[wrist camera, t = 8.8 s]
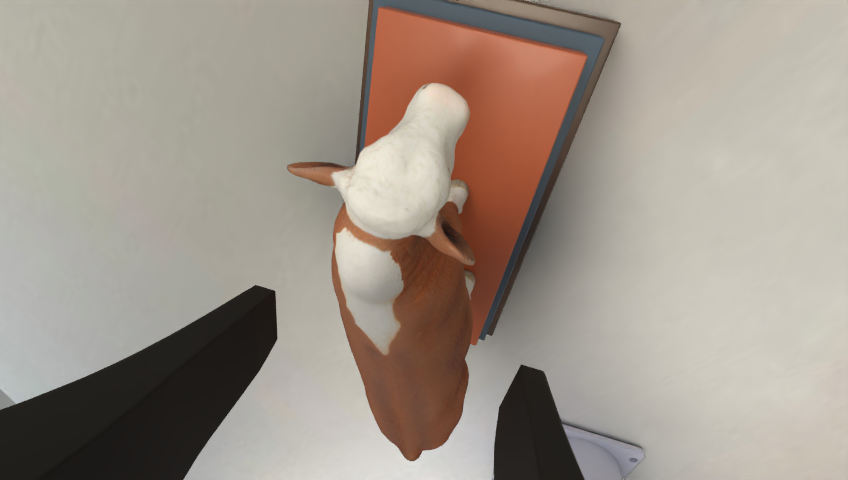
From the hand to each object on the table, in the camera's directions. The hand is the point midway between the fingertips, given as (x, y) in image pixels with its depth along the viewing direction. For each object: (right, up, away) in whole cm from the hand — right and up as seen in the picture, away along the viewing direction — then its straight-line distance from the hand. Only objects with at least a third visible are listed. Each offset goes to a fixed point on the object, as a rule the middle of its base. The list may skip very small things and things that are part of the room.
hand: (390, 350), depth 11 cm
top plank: (+2, +5, +6) cm, 8 cm away
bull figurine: (+2, +4, +6) cm, 7 cm away
